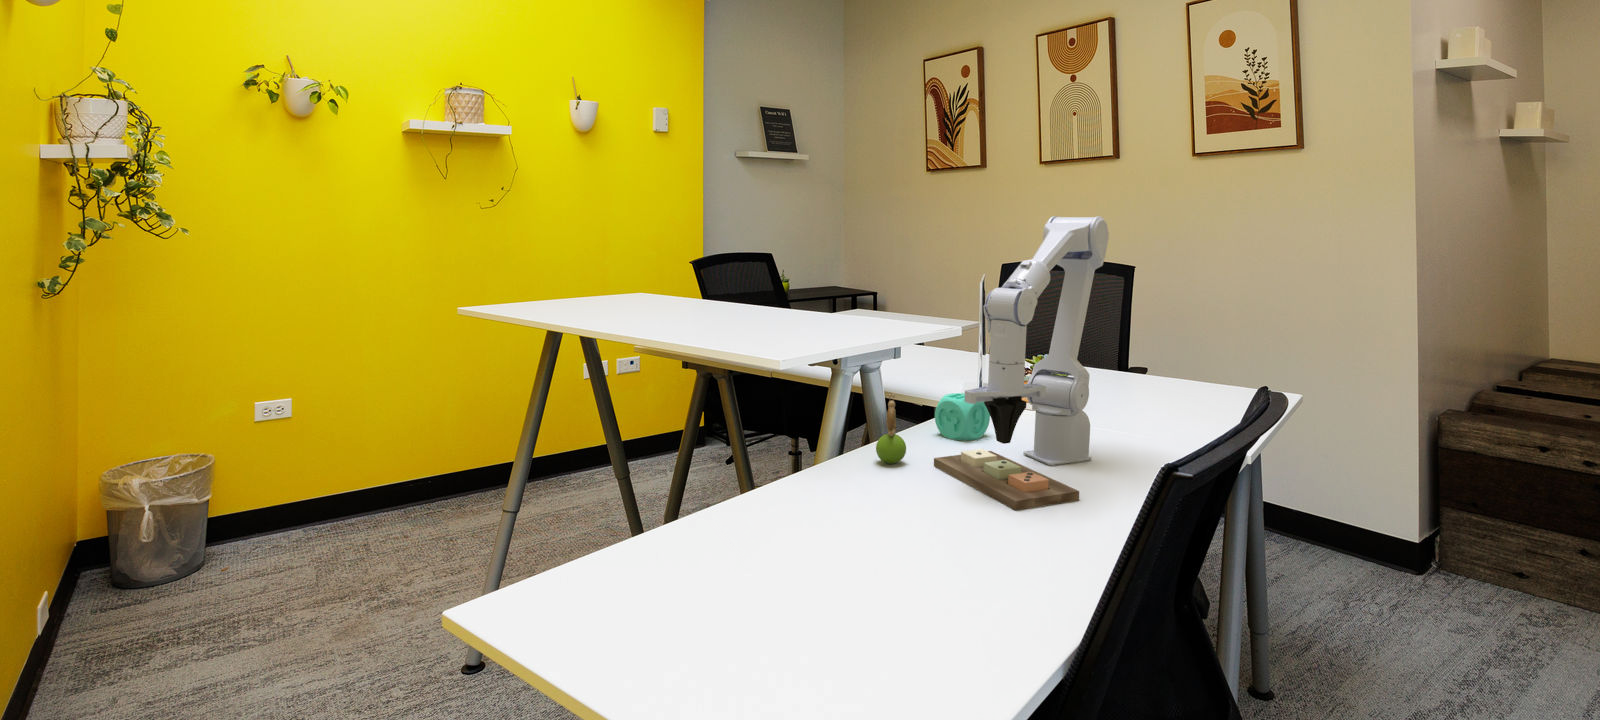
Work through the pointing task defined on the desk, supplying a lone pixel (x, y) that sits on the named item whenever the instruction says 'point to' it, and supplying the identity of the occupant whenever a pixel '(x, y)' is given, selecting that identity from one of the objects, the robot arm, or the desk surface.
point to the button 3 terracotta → (1028, 482)
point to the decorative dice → (961, 418)
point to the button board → (1006, 484)
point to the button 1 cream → (977, 457)
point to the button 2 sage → (1001, 469)
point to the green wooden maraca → (891, 439)
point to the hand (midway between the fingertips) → (1003, 441)
